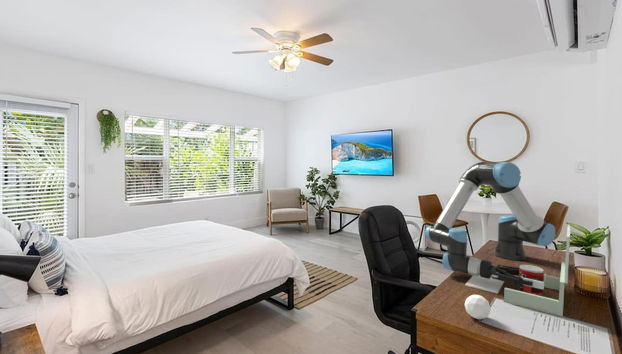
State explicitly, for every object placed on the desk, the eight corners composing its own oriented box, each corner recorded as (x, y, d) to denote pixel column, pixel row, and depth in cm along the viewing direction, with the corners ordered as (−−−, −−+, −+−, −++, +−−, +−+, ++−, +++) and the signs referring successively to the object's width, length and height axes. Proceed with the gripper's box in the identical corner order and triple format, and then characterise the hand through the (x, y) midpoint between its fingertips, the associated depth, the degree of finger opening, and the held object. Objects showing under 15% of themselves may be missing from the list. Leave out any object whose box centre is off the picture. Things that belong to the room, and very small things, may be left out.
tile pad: (474, 275, 141) (474, 273, 141) (504, 281, 133) (504, 280, 133) (465, 285, 129) (465, 284, 129) (497, 293, 121) (497, 292, 121)
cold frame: (514, 279, 136) (517, 218, 134) (566, 291, 124) (570, 224, 123) (504, 301, 115) (506, 229, 113) (565, 317, 103) (569, 237, 101)
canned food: (520, 288, 126) (521, 263, 126) (544, 294, 121) (545, 268, 120) (516, 294, 121) (517, 267, 120) (541, 301, 115) (542, 273, 115)
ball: (473, 327, 102) (461, 310, 101) (470, 308, 109) (459, 292, 108) (497, 322, 98) (484, 304, 97) (492, 303, 105) (480, 286, 104)
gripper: (485, 269, 141) (546, 282, 126) (474, 284, 124) (542, 300, 109) (486, 253, 140) (546, 264, 126) (474, 266, 124) (543, 280, 109)
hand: (544, 281), depth 118 cm, fingers open, 10 cm apart
